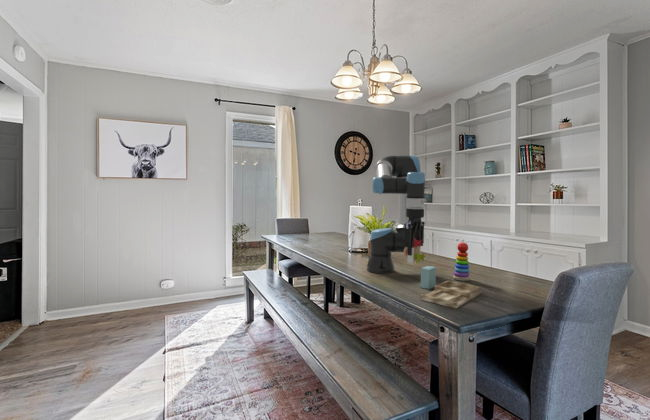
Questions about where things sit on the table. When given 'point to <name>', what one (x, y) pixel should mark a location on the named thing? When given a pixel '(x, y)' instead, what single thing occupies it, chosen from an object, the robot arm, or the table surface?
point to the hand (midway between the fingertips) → (413, 261)
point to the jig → (452, 294)
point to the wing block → (428, 277)
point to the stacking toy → (462, 263)
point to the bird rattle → (416, 252)
